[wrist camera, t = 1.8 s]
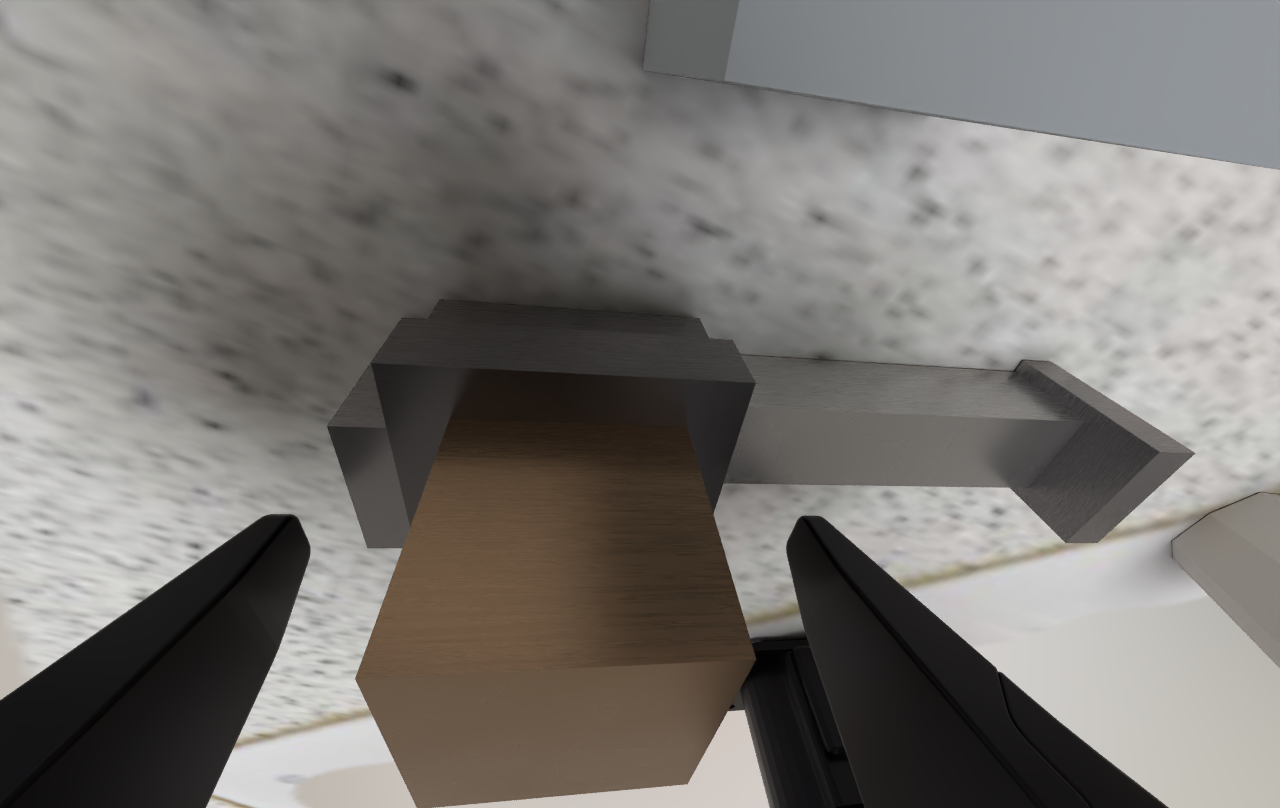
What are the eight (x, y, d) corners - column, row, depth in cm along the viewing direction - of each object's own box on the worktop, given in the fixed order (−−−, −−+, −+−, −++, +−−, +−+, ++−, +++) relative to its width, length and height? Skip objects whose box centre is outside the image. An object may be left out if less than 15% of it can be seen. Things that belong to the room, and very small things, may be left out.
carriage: (664, 475, 14) (732, 798, 8) (461, 471, 13) (357, 835, 7) (705, 291, 11) (878, 605, 5) (435, 268, 10) (187, 627, 4)
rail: (990, 443, 16) (1097, 542, 12) (420, 425, 13) (367, 548, 10) (1051, 362, 14) (1194, 452, 11) (401, 318, 11) (326, 426, 8)
